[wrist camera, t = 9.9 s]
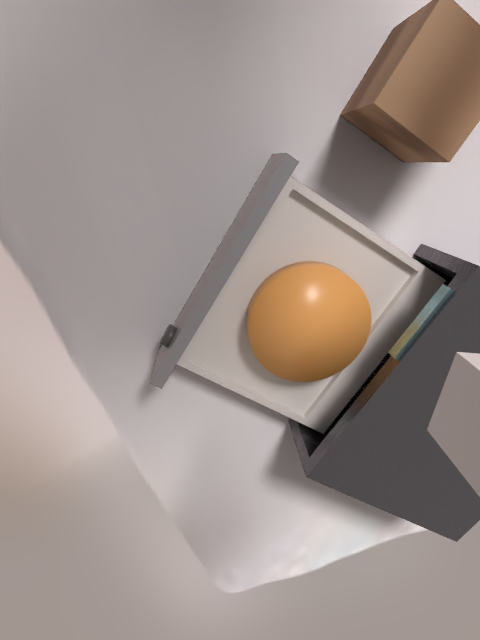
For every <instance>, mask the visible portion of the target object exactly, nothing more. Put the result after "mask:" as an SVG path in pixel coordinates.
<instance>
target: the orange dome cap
mask: <svg viewBox="0 0 480 640" xmlns="http://www.w3.org/2000/svg"><path fill="white" fill-rule="evenodd" d="M246 327H247V332H248V337H249V341H250V345H251V348H252V351H253V352H254V354H255V356H256V358H257V359H258V361H259V362H260V363H261V364H262V365H263V366H264V368H266V369H267V370H268V371H269V372H271V373H273V374H274V375H276V376H278V377H280V378H283V379H286V380H290V381H295V382H313V381H318V380H322V379H325V378H328V377H330V376H333V375H335V374H337V373H338V372H340V371H342V370H343V369H345V368H346V367H347V366H348V365H350V364H351V363H352V362H353V361H354V360H355V359H356V357H357V356H358V355H359V354H360V352H361V351H362V349H363V348H364V346H365V344H366V342H367V339H368V337H369V333H370V329H371V309H370V305H369V302H368V299H367V297H366V295H365V293H364V291H363V290H362V289H361V287H360V286H359V285H358V284H357V283H356V282H355V281H354V280H353V279H351V278H350V277H349V276H348V275H347V274H345V273H344V272H343V271H341V270H340V269H338V268H336V267H334V266H332V265H329V264H326V263H322V262H316V261H304V262H297V263H293V264H290V265H287V266H284V267H282V268H280V269H278V270H277V271H275V272H273V273H272V274H271V275H269V276H268V277H267V278H266V279H265V280H264V281H263V282H262V283H261V284H260V285H259V287H258V288H257V289H256V291H255V292H254V294H253V296H252V298H251V300H250V303H249V306H248V310H247V316H246Z"/></svg>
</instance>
